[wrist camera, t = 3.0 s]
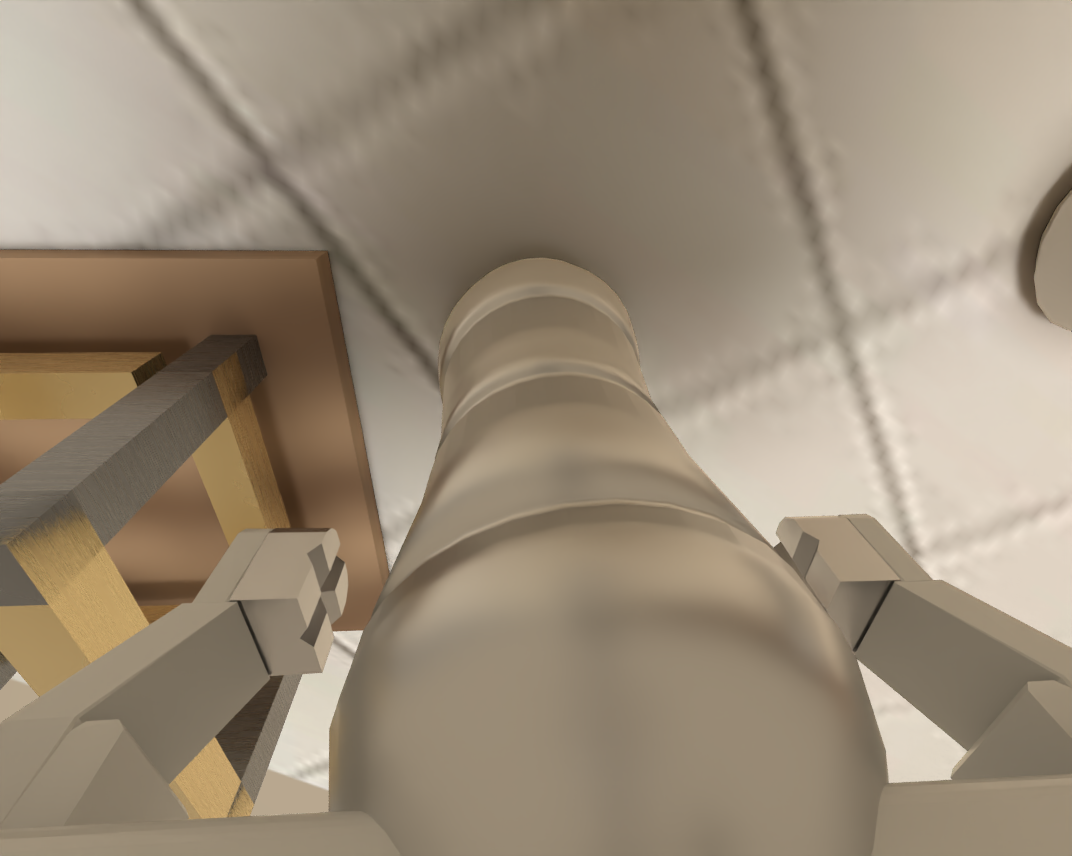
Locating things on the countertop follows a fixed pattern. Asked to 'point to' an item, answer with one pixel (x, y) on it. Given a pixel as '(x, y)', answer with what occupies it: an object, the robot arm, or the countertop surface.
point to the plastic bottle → (592, 624)
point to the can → (1056, 267)
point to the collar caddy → (111, 501)
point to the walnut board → (279, 400)
